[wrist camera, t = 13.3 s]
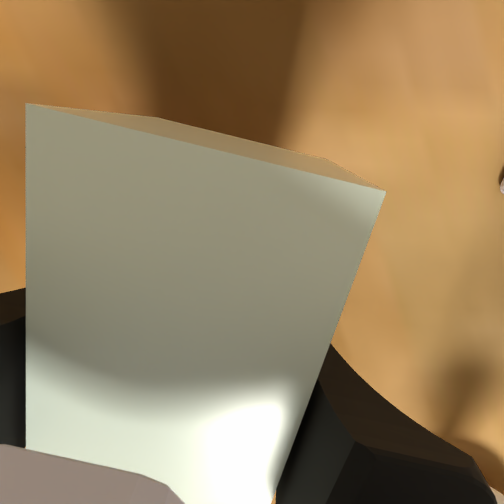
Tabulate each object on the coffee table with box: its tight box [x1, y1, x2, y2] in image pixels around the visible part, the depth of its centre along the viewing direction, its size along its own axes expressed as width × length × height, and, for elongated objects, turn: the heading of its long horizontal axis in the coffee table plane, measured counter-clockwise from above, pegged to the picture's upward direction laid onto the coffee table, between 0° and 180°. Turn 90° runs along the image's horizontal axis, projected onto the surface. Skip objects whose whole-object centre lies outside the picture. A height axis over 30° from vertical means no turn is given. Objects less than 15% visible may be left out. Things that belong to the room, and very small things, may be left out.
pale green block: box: [26, 103, 386, 504], centre depth 11 cm, size 6×12×7 cm, turn 167°
